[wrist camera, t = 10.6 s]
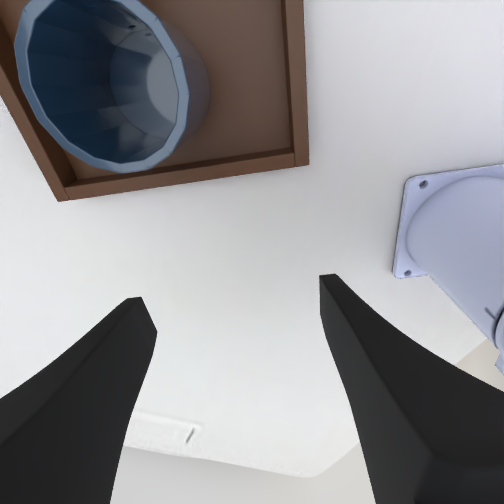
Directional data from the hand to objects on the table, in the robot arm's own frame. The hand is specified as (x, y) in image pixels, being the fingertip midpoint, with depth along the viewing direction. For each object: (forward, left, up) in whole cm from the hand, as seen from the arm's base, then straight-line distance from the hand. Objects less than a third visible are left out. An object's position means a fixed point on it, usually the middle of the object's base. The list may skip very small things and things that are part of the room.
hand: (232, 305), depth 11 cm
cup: (+3, -9, -9) cm, 13 cm away
